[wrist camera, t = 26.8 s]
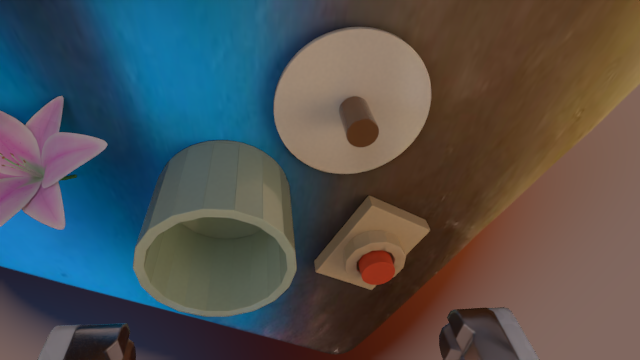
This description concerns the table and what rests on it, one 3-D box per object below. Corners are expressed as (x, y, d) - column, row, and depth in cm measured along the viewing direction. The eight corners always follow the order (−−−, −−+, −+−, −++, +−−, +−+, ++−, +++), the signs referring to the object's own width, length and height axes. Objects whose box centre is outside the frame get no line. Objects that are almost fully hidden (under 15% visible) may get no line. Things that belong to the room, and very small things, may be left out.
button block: (368, 194, 42) (376, 217, 40) (425, 219, 46) (436, 242, 43) (313, 260, 48) (317, 284, 45) (368, 279, 51) (375, 302, 48)
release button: (371, 245, 43) (374, 258, 41) (397, 255, 44) (402, 268, 43) (351, 266, 44) (354, 279, 43) (378, 275, 46) (381, 288, 44)
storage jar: (254, 118, 36) (252, 184, 28) (308, 216, 43) (319, 288, 36) (129, 170, 37) (96, 245, 30) (203, 255, 45) (191, 332, 37)
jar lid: (408, -5, 31) (431, 14, 27) (439, 136, 39) (460, 168, 35) (245, 63, 33) (243, 91, 29) (307, 185, 41) (312, 220, 37)
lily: (151, 117, 36) (80, 118, 26) (122, 241, 38) (46, 283, 28) (22, 76, 36) (-95, 62, 26) (0, 201, 38) (-116, 230, 28)
